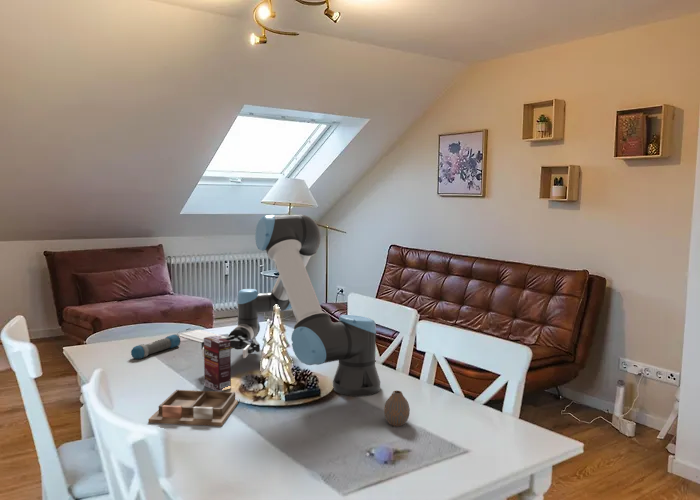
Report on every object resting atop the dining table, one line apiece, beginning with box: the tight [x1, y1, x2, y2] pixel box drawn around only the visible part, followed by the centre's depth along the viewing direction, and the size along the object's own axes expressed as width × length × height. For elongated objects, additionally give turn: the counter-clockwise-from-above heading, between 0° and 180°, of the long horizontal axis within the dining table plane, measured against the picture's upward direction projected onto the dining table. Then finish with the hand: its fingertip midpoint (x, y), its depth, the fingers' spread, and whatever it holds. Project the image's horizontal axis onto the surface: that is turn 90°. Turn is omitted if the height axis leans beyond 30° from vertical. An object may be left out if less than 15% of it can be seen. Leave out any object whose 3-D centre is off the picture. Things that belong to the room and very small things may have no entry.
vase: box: [383, 390, 411, 427], centre depth 157 cm, size 7×7×9 cm
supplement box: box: [203, 336, 232, 392], centre depth 182 cm, size 9×5×16 cm, turn 45°
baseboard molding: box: [176, 327, 234, 349], centre depth 239 cm, size 31×3×12 cm
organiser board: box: [147, 389, 239, 427], centre depth 163 cm, size 20×18×4 cm
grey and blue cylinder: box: [130, 333, 181, 360], centre depth 221 cm, size 5×22×5 cm, turn 154°
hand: (223, 353), depth 190 cm, fingers open, 13 cm apart
